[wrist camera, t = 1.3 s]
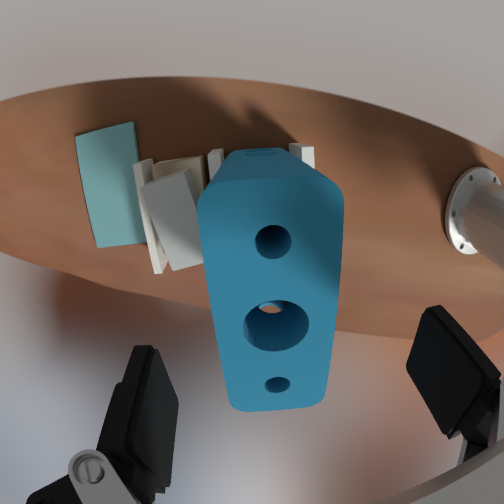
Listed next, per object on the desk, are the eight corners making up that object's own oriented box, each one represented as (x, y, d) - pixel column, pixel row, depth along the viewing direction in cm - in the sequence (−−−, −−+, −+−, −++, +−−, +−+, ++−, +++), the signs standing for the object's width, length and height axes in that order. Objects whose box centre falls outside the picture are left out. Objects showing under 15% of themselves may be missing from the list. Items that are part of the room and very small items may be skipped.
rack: (298, 142, 28) (313, 146, 22) (302, 243, 32) (315, 268, 27) (145, 159, 27) (124, 167, 22) (163, 257, 32) (149, 283, 26)
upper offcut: (189, 167, 25) (183, 172, 22) (216, 246, 28) (214, 259, 26) (149, 181, 25) (139, 188, 23) (178, 257, 29) (173, 271, 26)
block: (230, 145, 28) (193, 184, 9) (280, 142, 27) (344, 175, 9) (239, 256, 32) (231, 412, 14) (285, 253, 32) (322, 404, 14)
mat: (134, 121, 26) (132, 121, 25) (153, 239, 31) (152, 241, 31) (77, 136, 26) (75, 136, 25) (99, 246, 31) (97, 248, 30)
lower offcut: (203, 154, 28) (199, 158, 25) (215, 245, 32) (213, 259, 29) (160, 161, 28) (151, 165, 25) (175, 250, 32) (169, 264, 29)
